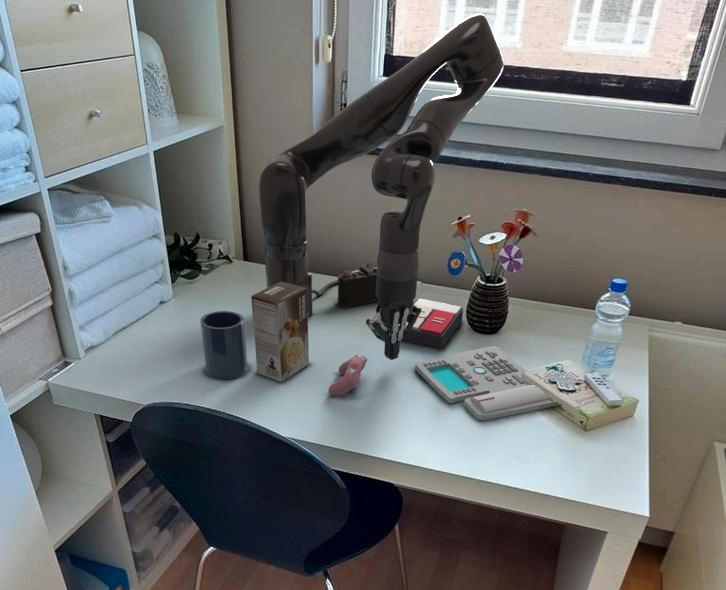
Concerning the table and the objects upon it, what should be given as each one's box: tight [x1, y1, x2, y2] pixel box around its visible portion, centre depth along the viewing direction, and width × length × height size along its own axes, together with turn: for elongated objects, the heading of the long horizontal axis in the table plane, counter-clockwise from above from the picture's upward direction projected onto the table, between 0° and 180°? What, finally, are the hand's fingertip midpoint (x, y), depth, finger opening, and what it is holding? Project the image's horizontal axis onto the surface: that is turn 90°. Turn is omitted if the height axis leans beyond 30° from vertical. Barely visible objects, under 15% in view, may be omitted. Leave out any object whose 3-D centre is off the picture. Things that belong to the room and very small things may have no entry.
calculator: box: [401, 298, 464, 350], centre depth 150 cm, size 11×4×15 cm
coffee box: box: [250, 282, 310, 383], centre depth 129 cm, size 9×6×16 cm
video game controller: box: [328, 353, 368, 397], centre depth 128 cm, size 10×5×7 cm, turn 168°
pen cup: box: [199, 310, 248, 381], centre depth 130 cm, size 8×8×10 cm
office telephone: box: [414, 345, 562, 421], centre depth 131 cm, size 23×3×20 cm
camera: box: [337, 265, 378, 308], centre depth 162 cm, size 16×7×8 cm, turn 120°
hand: (391, 357), depth 134 cm, fingers closed
